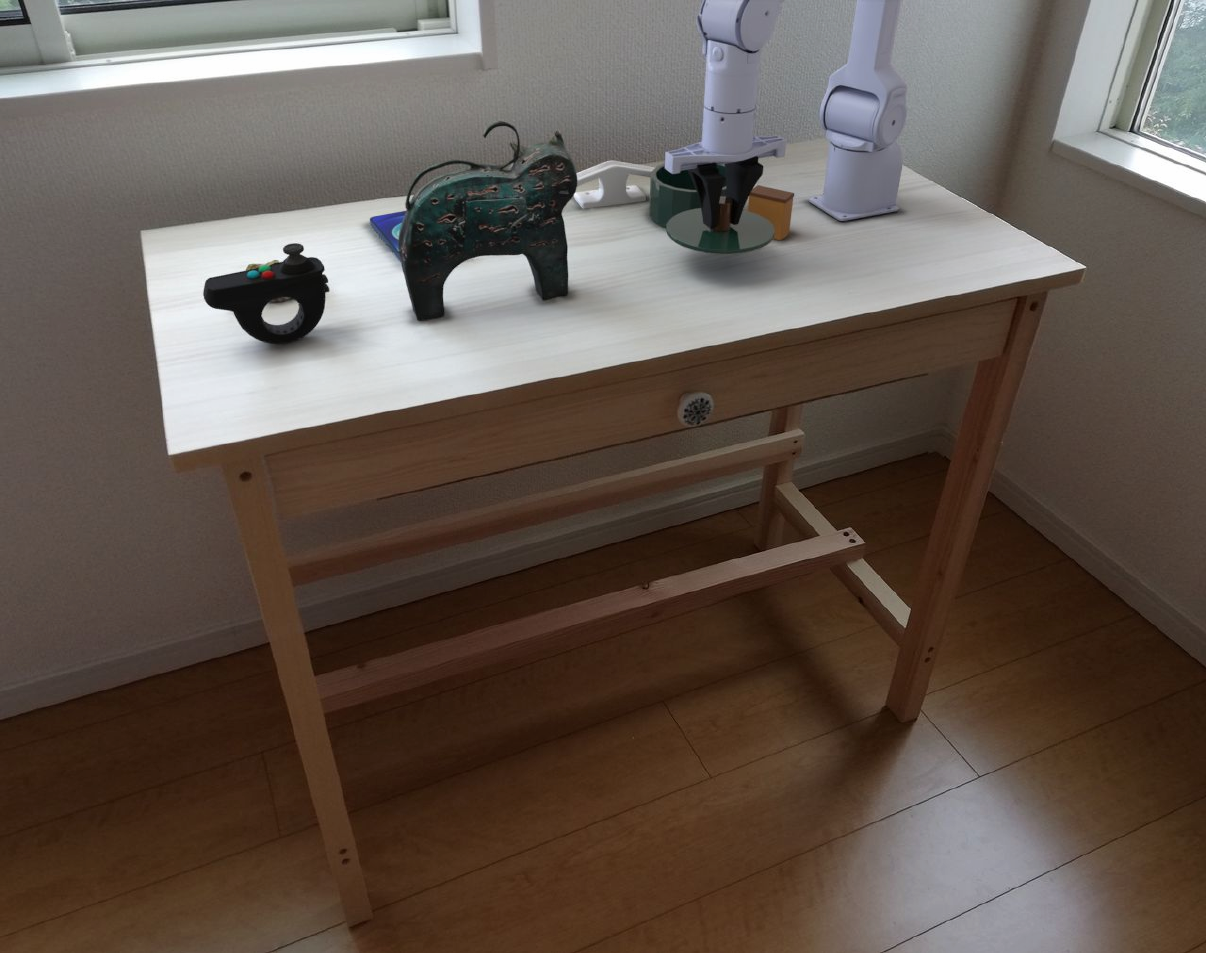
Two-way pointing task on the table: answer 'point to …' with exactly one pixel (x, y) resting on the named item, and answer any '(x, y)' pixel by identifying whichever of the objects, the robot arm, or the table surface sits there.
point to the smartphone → (389, 229)
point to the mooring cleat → (611, 184)
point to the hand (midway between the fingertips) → (720, 223)
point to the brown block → (772, 208)
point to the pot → (674, 193)
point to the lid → (720, 231)
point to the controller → (273, 295)
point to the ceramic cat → (489, 220)
